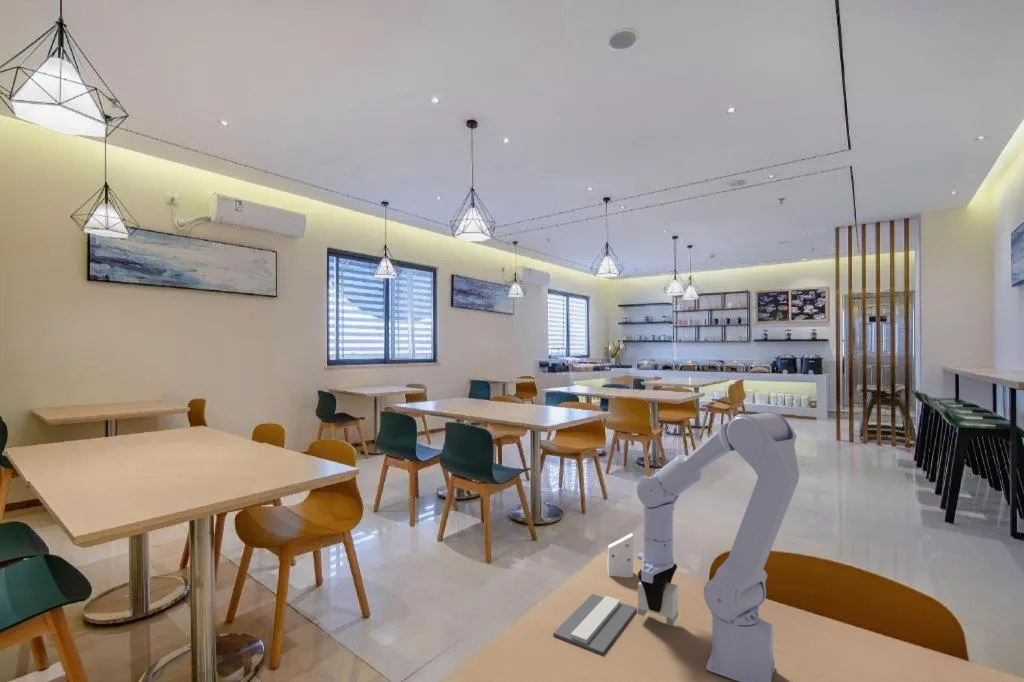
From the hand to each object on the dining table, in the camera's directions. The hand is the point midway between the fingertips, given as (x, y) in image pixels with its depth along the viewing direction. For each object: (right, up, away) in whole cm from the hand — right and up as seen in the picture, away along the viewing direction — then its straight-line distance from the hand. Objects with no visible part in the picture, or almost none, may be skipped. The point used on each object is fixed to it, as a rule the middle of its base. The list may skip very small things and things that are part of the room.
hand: (657, 605), depth 93 cm
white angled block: (-3, -4, +21) cm, 22 cm away
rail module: (0, -2, 0) cm, 2 cm away
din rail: (-12, -3, 0) cm, 13 cm away
